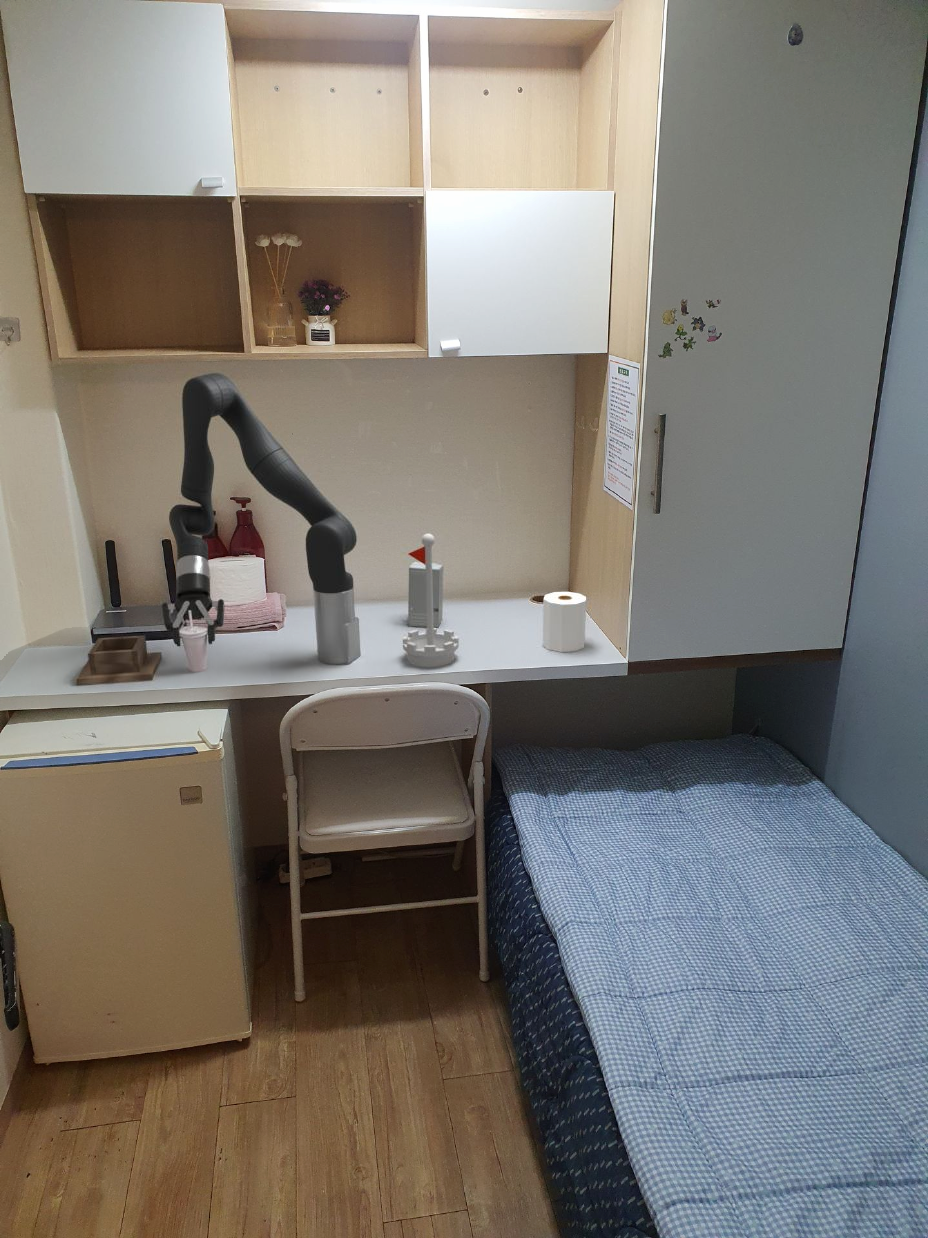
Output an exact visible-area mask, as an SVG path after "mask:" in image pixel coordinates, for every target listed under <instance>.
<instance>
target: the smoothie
mask: <svg viewBox="0 0 928 1238" xmlns="http://www.w3.org/2000/svg"><path fill="white" fill-rule="evenodd" d="M189 619H190V620H189V625H187V626H182V627H181V629H180V630H179V635H180V636H181V641H182V645H183V649H184V650H183V651H184V653H185V657H186V660H187V664H188V667H189V671H190V672H192V673H199V672H203V671H205V670H206V669H207V661H208V657H207V653H208V650H207V649H208V648H207V647H208V626H207V625H204V624H193V620H192V615H191V610H189Z"/></svg>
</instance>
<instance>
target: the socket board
mask: <svg viewBox="0 0 928 1238" xmlns="http://www.w3.org/2000/svg"><path fill="white" fill-rule="evenodd" d="M162 655H163V654H162V651H157V652H155V651H154V652H148V646H147V639H146V635H131V636H130V635H129V636H115V637H114V636H112V637H99V638H97V639H96V641H95V643H94V645H92V647H91V648H90V650H89V652H88V654H87V657H88V660H87V661H86V663H85V665H84V666H83V667H82V669H81V670H80V672H79V674H78V675H77V677H76V678H75V680H76V686H87V685H89V686H90V685H102V684H116V683H118V684H119V683H130V682H132V683H133V682H142V681H143V682H145V681H146V682H147V681H153V679H154V677H155V674H156V673H157V670H158V668H159V666H160V663H161V662H162V659H163V656H162Z"/></svg>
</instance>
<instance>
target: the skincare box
mask: <svg viewBox="0 0 928 1238" xmlns="http://www.w3.org/2000/svg"><path fill="white" fill-rule="evenodd" d="M432 583H433V625H434V628H439V627H440V625H441V623H442V622H443V603H444V602H443V601H444V600H443V599H444V598H443V597H444V596H443V595H444V563H434V562H432ZM407 601H408V603H407V604H408V605H407V606H408V609H407V610H408V611H407V612H408V615H407V616H408V617H407V619H408V621H407V625H408V627H418V628H419V627H421V628H422V627H423V628H425V627H426V628H427V606H426V568H425V564H423V563H421V562H420V561H414V562H412V563H411V564H410V565H409V567H408V600H407ZM441 621H442V622H441Z"/></svg>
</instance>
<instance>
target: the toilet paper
mask: <svg viewBox="0 0 928 1238" xmlns="http://www.w3.org/2000/svg"><path fill="white" fill-rule="evenodd" d="M542 608H543V609H542V611H543V612H542V647H544V648H546V649H547V650H549V651H554V652H559V653H564V652H565V653H568V652H569V653H570V652H576V651H579V650H582V649H584V647H585V644H586V643H585V641H586V616H587V615H586V613H587V596H585V595H583V594H581V593H578V592H574V591H573V592H571V591H553V592H550V593H547V594H545V595H544V597H543V607H542Z"/></svg>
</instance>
